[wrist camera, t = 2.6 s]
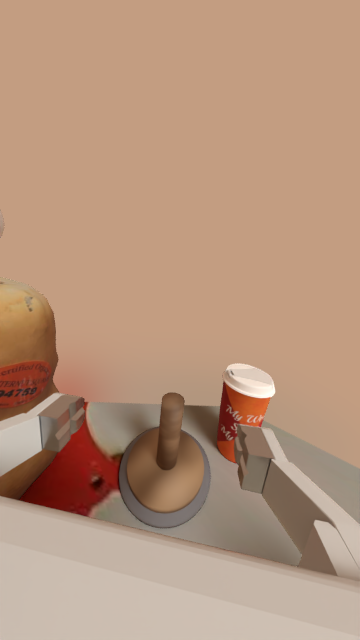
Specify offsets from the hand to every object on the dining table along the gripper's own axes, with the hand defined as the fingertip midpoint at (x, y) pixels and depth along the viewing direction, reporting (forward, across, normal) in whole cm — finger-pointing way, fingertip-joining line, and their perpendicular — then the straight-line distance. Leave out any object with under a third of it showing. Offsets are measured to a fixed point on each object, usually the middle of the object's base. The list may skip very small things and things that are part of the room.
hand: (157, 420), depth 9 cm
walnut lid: (+12, 0, +19) cm, 23 cm away
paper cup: (+18, -10, +20) cm, 28 cm away
